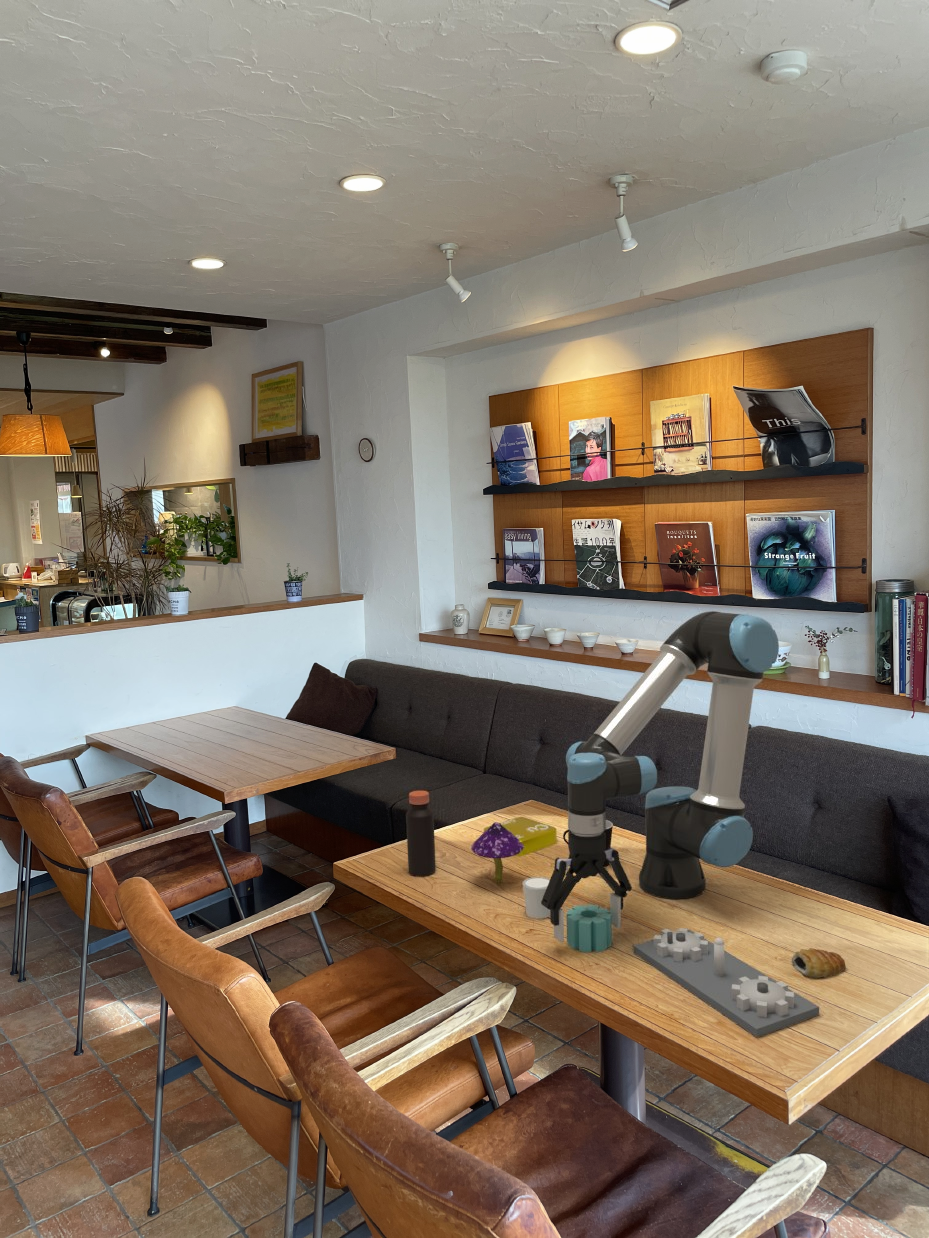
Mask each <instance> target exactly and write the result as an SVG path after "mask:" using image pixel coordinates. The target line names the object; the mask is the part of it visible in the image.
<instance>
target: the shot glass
mask: <svg viewBox="0 0 929 1238" xmlns="http://www.w3.org/2000/svg"><path fill="white" fill-rule="evenodd" d="M550 879H551V878H547V877H541V876H532V877H529V878H526V879H524V880H523V881H522V882H521V883H522V890H523V898H524V905H525V913H526V914H525V915H526V916H527V917H528V918H530V919H536V920H539V919H542V920H543V919H547V918H549V917H550V910H549V909H547V908H546V907H544V906H543V905H542V904H541V901H542V899H543V896H544V894H545V891H546V889H547V886H548V884H549V881H550Z"/></svg>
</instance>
